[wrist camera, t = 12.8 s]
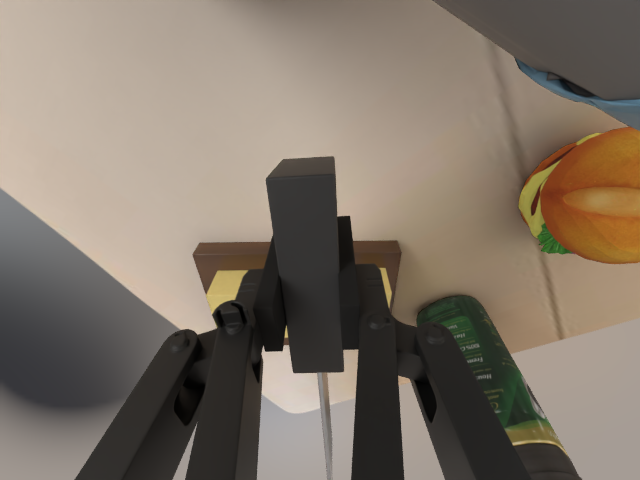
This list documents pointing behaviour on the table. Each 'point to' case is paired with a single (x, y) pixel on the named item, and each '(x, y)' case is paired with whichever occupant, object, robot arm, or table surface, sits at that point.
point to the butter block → (225, 288)
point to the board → (255, 253)
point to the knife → (309, 270)
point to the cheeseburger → (588, 198)
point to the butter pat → (386, 285)
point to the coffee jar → (503, 386)
